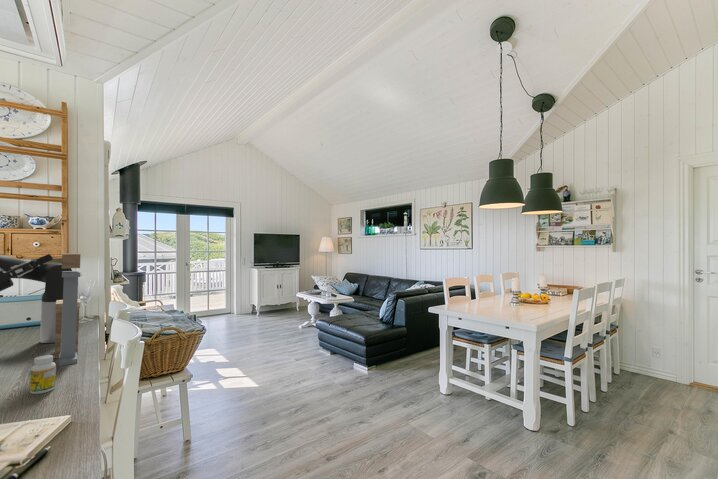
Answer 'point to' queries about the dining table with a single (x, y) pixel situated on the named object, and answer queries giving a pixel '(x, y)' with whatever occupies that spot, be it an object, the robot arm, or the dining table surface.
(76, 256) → the mallet
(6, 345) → the dining table surface
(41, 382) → the supplement bottle
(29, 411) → the dining table surface
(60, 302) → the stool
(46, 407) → the dining table surface
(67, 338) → the stand
